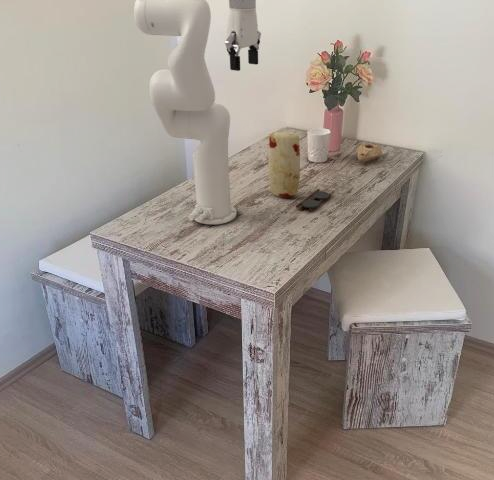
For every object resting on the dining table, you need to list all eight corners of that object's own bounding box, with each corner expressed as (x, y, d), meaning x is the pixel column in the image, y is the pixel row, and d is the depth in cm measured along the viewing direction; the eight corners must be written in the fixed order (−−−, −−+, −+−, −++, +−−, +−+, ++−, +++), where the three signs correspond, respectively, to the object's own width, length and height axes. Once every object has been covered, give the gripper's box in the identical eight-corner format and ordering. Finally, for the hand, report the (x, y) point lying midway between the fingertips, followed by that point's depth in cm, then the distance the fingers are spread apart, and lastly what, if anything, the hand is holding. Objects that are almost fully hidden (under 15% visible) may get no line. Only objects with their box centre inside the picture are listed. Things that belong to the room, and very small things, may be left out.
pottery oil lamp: (348, 164, 197) (346, 143, 197) (364, 165, 207) (362, 145, 206) (371, 159, 192) (369, 138, 191) (386, 161, 202) (384, 141, 201)
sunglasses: (312, 213, 165) (312, 209, 164) (295, 209, 167) (295, 205, 167) (333, 196, 175) (333, 192, 174) (317, 192, 178) (317, 188, 177)
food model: (265, 197, 175) (264, 132, 164) (273, 189, 180) (273, 126, 169) (295, 202, 172) (296, 136, 161) (303, 194, 177) (304, 129, 166)
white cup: (327, 164, 198) (328, 135, 193) (305, 162, 200) (305, 134, 194) (330, 156, 205) (331, 128, 200) (308, 154, 206) (309, 127, 201)
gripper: (247, -1, 171) (249, 60, 180) (213, 6, 158) (217, 71, 167) (269, 1, 167) (270, 63, 176) (236, 8, 155) (238, 74, 164)
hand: (244, 67), depth 172 cm, fingers open, 9 cm apart
